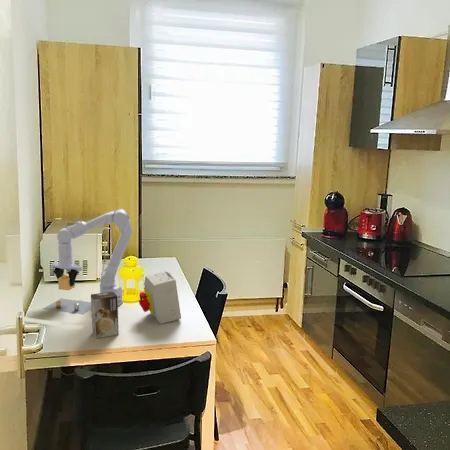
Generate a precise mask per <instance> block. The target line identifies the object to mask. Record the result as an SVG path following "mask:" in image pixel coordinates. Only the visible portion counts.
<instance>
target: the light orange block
mask: <svg viewBox="0 0 450 450" xmlns="http://www.w3.org/2000/svg"><path fill="white" fill-rule="evenodd" d="M57 283H58V290H64V291H70V290H72V289H74V288H76V285H75V283H76V282H75V283H74V286H70V279H69V275H68V273H64V274H63V275H62V277H60V278H58V279H57Z"/></svg>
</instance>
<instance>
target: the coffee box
mask: <svg viewBox="0 0 450 450" xmlns="http://www.w3.org/2000/svg"><path fill="white" fill-rule="evenodd" d="M90 302H91V310H90V311H91V312H90V313H91V333H92V334H93V336H94V337H95V339H102V338H106V337H112V336H119V334H120V333H119V332H120V331H119V308H118V307H119V306H118V301H117V295H116V294H115V293H114V292H106V293H100V292H99V293H92V294H90Z"/></svg>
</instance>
